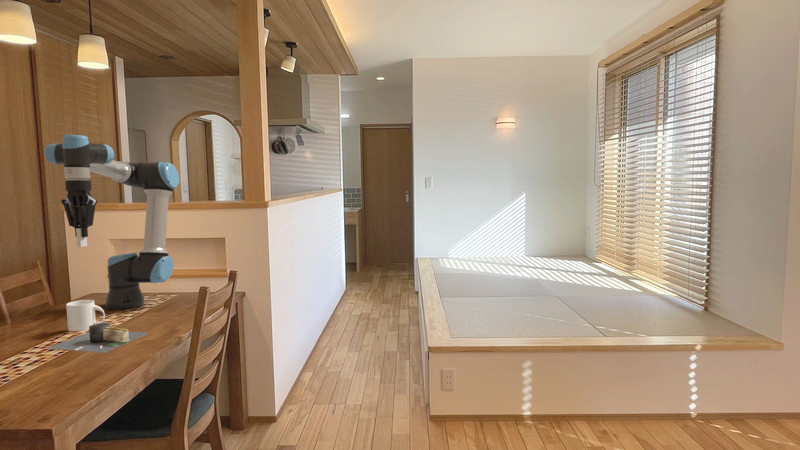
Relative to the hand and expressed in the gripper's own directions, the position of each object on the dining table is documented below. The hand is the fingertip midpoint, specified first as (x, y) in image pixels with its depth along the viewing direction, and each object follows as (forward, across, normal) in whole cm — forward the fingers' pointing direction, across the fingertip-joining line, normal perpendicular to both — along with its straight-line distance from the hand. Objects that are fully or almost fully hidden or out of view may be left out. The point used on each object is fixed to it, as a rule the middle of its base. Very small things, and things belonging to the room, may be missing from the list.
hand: (82, 246), depth 168 cm
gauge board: (+32, +12, -7) cm, 35 cm away
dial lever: (+31, +16, -7) cm, 36 cm away
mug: (+33, -5, +4) cm, 33 cm away
